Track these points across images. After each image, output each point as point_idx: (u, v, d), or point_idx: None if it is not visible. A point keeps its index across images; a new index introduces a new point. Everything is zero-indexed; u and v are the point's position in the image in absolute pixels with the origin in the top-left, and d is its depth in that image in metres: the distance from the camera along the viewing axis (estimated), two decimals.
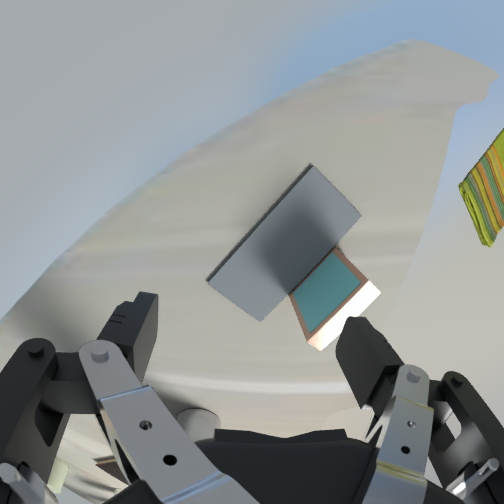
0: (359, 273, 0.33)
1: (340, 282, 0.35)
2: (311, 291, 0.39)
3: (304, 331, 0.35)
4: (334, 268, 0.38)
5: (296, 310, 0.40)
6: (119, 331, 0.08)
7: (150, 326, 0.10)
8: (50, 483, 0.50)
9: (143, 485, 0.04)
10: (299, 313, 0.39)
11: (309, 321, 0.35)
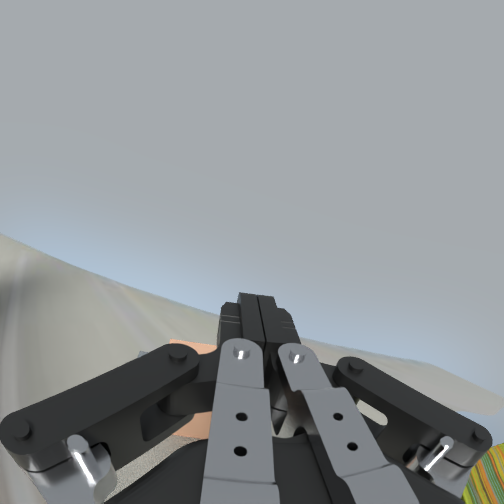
0: None
1: None
2: None
3: None
4: None
5: None
6: (245, 329, 0.10)
7: None
8: None
9: (204, 462, 0.05)
10: None
11: None
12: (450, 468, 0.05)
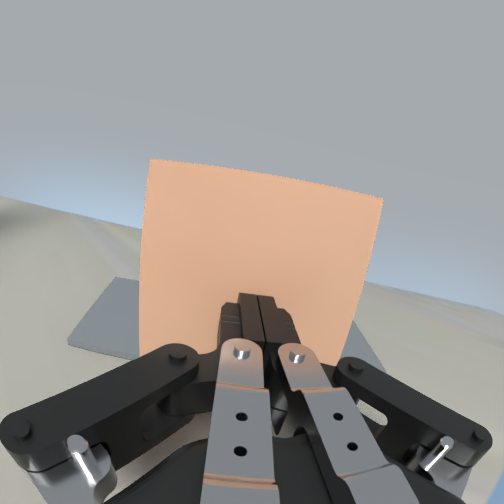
0: None
1: None
2: None
3: None
4: None
5: None
6: (245, 329, 0.10)
7: None
8: None
9: (205, 462, 0.05)
10: None
11: None
12: (450, 468, 0.05)
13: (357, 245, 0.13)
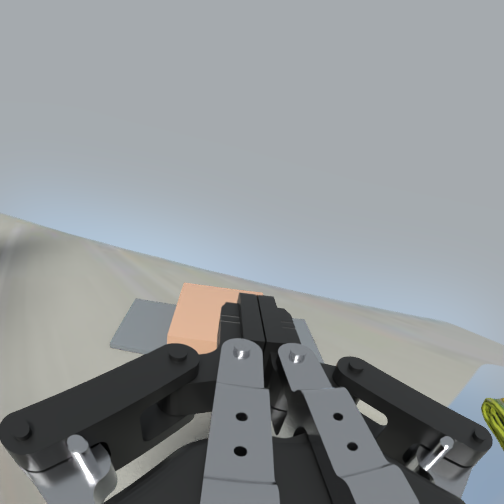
0: None
1: None
2: None
3: None
4: None
5: None
6: (245, 329, 0.10)
7: None
8: None
9: (205, 462, 0.05)
10: None
11: None
12: (450, 468, 0.05)
13: None
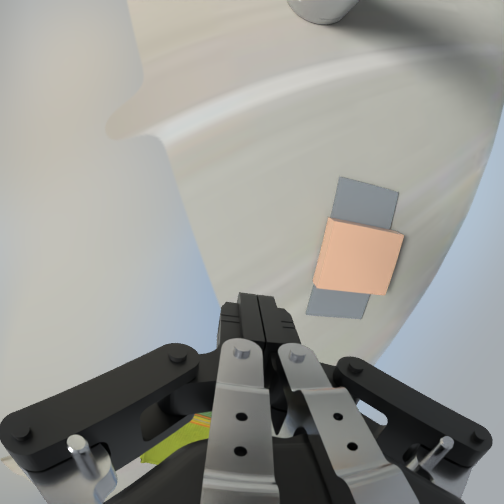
0: None
1: None
2: None
3: (386, 230, 0.42)
4: None
5: (358, 224, 0.42)
6: (245, 329, 0.10)
7: None
8: None
9: (205, 462, 0.05)
10: None
11: None
12: (450, 468, 0.05)
13: (375, 289, 0.43)
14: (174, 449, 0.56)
